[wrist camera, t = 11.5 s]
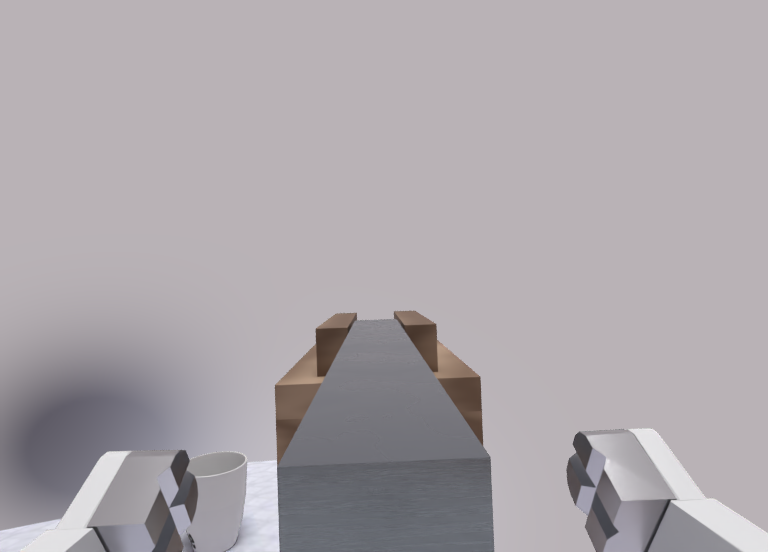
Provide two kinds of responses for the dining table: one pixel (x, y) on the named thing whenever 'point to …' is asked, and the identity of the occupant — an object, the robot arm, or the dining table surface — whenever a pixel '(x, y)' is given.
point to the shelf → (309, 385)
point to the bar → (384, 458)
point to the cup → (218, 500)
